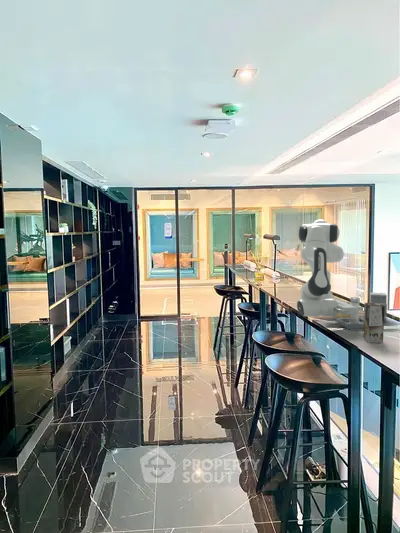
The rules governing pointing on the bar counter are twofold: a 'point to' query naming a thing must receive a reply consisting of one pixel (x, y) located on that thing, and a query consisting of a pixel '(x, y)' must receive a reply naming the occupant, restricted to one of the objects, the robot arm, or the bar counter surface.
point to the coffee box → (374, 322)
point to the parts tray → (351, 324)
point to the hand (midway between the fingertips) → (356, 306)
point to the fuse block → (342, 315)
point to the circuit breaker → (379, 300)
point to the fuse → (355, 317)
